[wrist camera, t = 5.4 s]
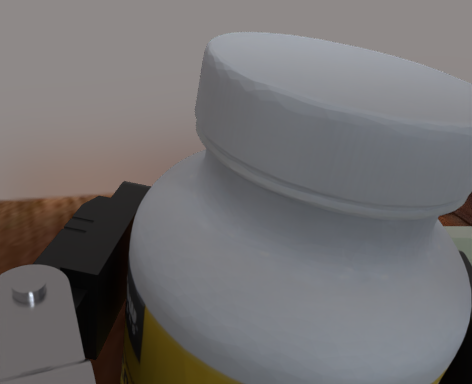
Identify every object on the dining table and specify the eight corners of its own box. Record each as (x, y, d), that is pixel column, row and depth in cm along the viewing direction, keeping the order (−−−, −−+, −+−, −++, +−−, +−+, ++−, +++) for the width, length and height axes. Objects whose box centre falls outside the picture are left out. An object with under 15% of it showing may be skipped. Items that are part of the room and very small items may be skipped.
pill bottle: (114, 380, 14) (134, 2, 9) (297, 366, 16) (411, 43, 11) (110, 656, 9) (155, 133, 3) (384, 589, 11) (715, 173, 5)
